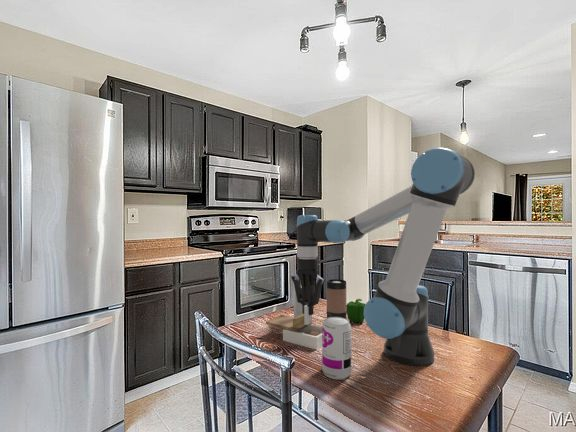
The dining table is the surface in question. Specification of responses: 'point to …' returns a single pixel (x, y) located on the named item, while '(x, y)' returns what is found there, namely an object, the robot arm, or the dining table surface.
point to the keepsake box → (304, 337)
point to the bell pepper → (355, 311)
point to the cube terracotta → (314, 333)
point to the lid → (288, 322)
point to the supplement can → (336, 348)
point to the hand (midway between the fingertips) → (308, 323)
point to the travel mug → (336, 298)
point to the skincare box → (297, 305)
